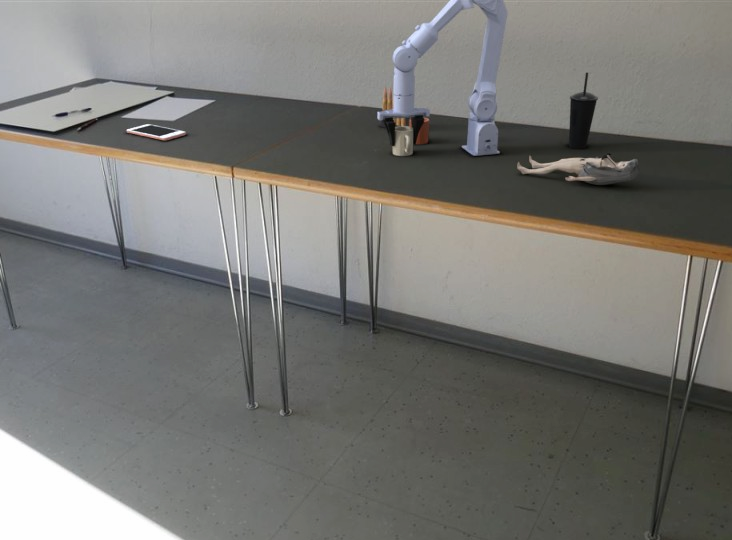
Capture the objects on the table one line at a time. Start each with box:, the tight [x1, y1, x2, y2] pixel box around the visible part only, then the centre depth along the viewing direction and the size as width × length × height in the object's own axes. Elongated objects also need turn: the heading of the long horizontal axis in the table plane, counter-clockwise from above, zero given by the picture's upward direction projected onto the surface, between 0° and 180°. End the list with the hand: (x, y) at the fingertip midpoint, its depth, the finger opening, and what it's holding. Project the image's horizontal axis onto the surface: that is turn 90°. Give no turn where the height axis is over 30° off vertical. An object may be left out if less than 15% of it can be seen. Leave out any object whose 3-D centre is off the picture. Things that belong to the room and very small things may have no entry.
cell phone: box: [126, 123, 187, 142], centre depth 250 cm, size 9×18×1 cm, turn 53°
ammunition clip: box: [380, 86, 411, 128], centre depth 248 cm, size 11×2×12 cm, turn 53°
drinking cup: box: [568, 72, 599, 149], centre depth 225 cm, size 8×8×20 cm
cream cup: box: [392, 126, 414, 157], centre depth 224 cm, size 8×6×7 cm
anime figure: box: [516, 152, 640, 186], centre depth 202 cm, size 10×7×30 cm
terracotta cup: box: [409, 117, 430, 145], centre depth 236 cm, size 8×6×6 cm
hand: (403, 144), depth 226 cm, fingers closed on cream cup, 6 cm apart
